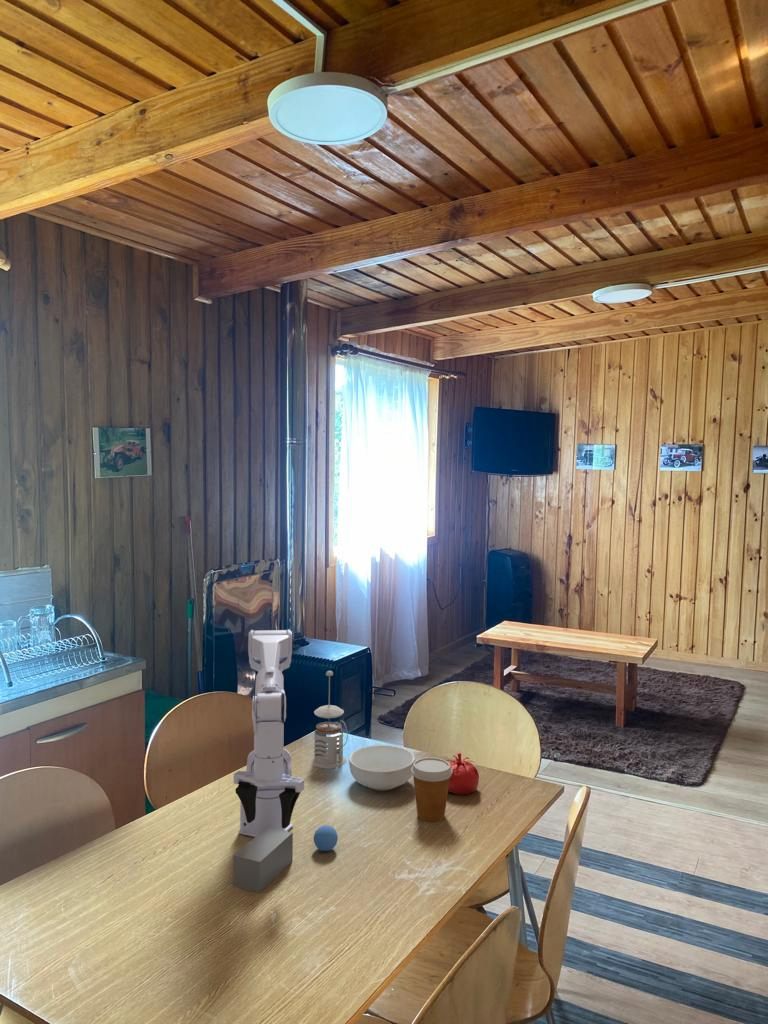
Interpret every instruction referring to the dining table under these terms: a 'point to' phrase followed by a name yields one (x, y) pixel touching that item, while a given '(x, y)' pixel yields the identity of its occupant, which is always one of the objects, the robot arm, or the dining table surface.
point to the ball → (325, 838)
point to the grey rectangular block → (262, 859)
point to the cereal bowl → (381, 766)
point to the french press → (332, 755)
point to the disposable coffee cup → (431, 787)
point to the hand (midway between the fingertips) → (268, 823)
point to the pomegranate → (463, 776)
